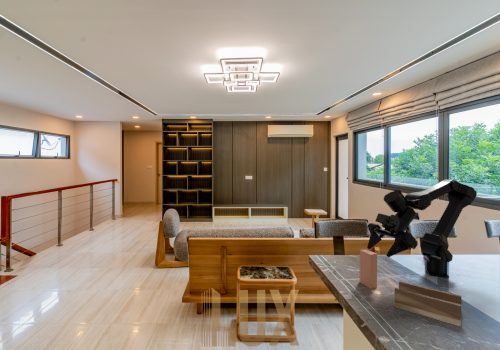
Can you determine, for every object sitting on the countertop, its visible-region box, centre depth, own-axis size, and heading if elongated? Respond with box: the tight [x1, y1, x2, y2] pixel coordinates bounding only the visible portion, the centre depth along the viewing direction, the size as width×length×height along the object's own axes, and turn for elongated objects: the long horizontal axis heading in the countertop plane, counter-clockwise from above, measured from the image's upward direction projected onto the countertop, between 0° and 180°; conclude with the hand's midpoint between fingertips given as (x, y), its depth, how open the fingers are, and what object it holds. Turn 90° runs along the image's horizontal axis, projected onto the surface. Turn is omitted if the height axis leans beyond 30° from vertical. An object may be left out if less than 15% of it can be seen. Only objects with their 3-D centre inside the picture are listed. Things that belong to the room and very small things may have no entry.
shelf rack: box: [393, 280, 463, 327], centre depth 79 cm, size 10×16×5 cm, turn 51°
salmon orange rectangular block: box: [359, 248, 378, 290], centre depth 95 cm, size 3×6×12 cm, turn 17°
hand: (377, 252), depth 96 cm, fingers open, 9 cm apart
